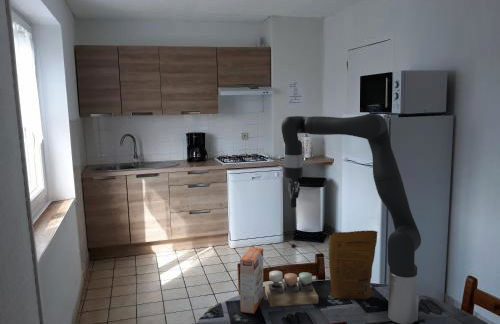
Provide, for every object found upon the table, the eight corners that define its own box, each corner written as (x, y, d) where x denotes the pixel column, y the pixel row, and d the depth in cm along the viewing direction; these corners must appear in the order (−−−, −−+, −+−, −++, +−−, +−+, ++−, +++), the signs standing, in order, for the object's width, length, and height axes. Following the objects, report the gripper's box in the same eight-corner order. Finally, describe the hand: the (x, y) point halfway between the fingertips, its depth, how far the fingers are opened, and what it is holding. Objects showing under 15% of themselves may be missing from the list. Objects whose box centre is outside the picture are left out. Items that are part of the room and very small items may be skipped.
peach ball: (295, 284, 166) (295, 272, 165) (298, 289, 161) (298, 278, 160) (283, 284, 166) (283, 273, 165) (285, 290, 160) (285, 278, 160)
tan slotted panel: (309, 288, 171) (309, 276, 171) (318, 303, 158) (318, 290, 158) (265, 291, 169) (264, 279, 168) (270, 306, 156) (270, 293, 156)
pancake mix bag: (377, 301, 159) (379, 232, 155) (328, 300, 160) (329, 232, 157) (373, 293, 166) (375, 227, 162) (326, 293, 167) (327, 227, 163)
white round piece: (281, 281, 165) (281, 270, 165) (283, 287, 160) (283, 275, 159) (268, 282, 165) (268, 271, 164) (270, 288, 160) (270, 276, 159)
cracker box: (255, 314, 151) (254, 260, 148) (239, 312, 152) (238, 259, 149) (264, 297, 164) (263, 247, 161) (250, 295, 166) (249, 246, 163)
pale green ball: (310, 283, 167) (310, 271, 166) (313, 288, 162) (313, 277, 161) (297, 283, 166) (297, 272, 166) (300, 289, 161) (300, 278, 160)
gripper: (306, 167, 159) (306, 210, 162) (298, 163, 172) (298, 203, 175) (287, 168, 158) (287, 211, 161) (281, 163, 171) (281, 203, 174)
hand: (293, 207), depth 168 cm, fingers closed
